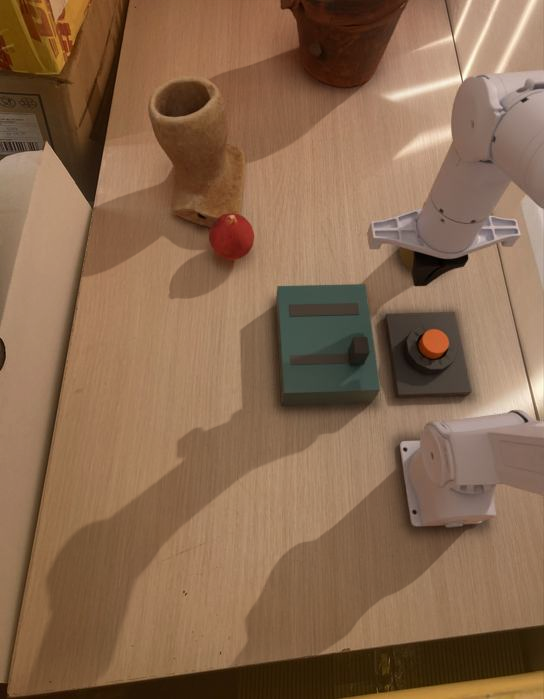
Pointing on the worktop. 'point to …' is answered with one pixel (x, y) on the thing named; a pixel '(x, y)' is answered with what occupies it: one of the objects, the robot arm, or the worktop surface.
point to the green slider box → (324, 345)
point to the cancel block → (419, 371)
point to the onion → (231, 236)
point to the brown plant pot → (344, 36)
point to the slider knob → (358, 350)
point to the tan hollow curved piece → (198, 149)
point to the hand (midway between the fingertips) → (418, 278)
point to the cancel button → (433, 344)
